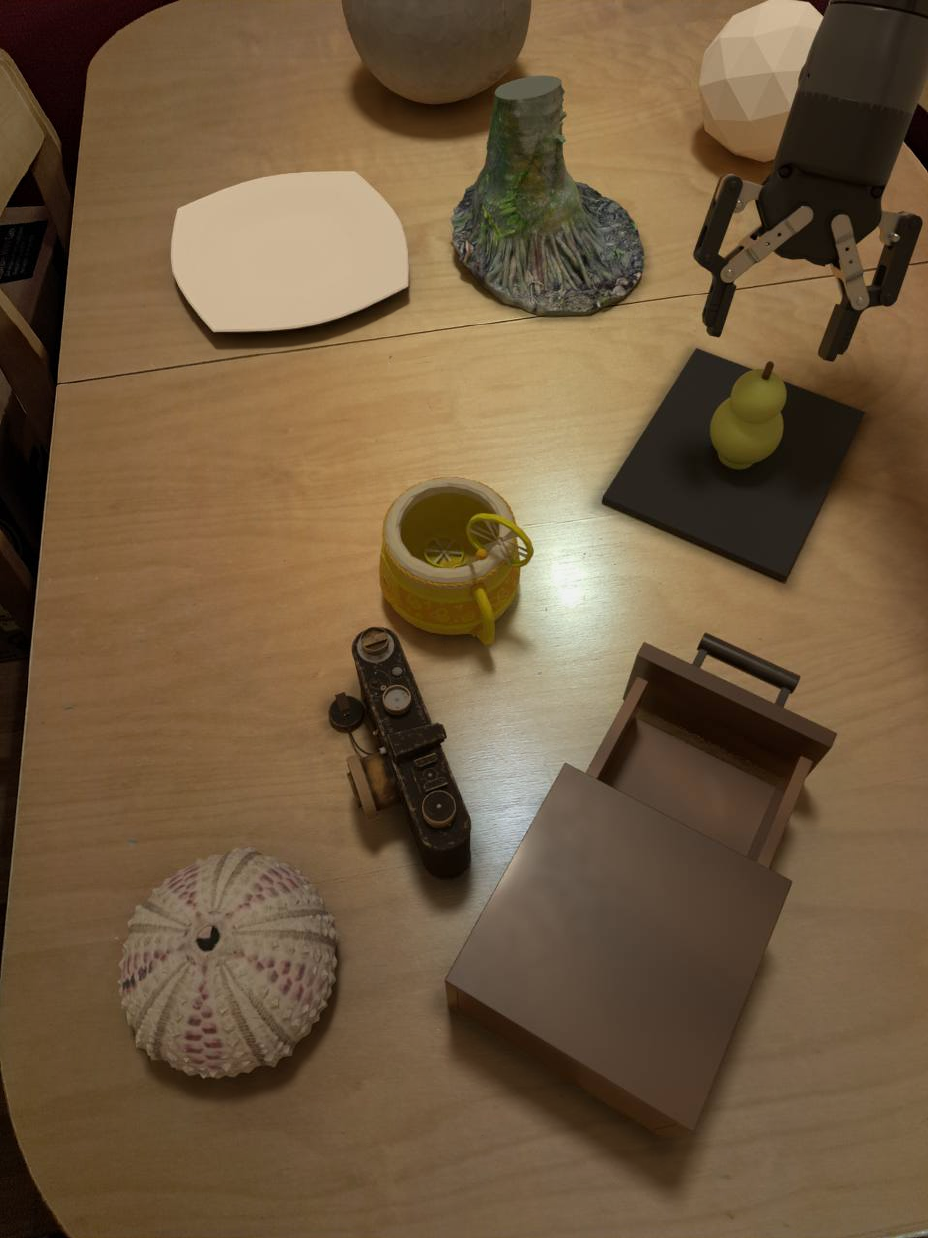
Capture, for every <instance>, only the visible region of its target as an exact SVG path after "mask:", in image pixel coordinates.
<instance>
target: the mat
mask: <svg viewBox="0 0 928 1238" xmlns="http://www.w3.org/2000/svg"><path fill="white" fill-rule="evenodd" d="M751 370H754V369H753V368H751V367H748V366H745V365H743V364H740V363H737V362H735V361H732V360H729V359H727V358H724V357H721V356H718V355H716V354H714V353H712V352H708V351H705V350H703V349H700V348H698V347H696V348H695V349H694V351H693V352H692V354H691V355H690V357H689V359H688V360H687V361H686V363H685V365H684V366H683V368H682V370H681V371H680V373H679V374H678V376H677V377H676V379H675V381H674V382H673V384H672V386H671V388H670V389H669V390H668V392H667V393H666V395H665V396H664V397H663V400H662V402H661V403H660V405H659V407H658V408H657V409H656V411H655V413H654V414H653V416H652V417H651V419H650V421H649V422H648V424H647V425H646V427H645V428H644V430H643V432H642V434H641V435H640V436H639V438H638V440H637V441H636V443H635V445H634V446H633V448H632V449H631V451H630V453H629V454H628V455H627V457H626V459H625V461H624V462H623V464H622V465H621V467H620V468H619V469H618V472H617V473H616V475H615V476H614V478H613V480H612V481H611V483H610V484H609V486H608V487H607V489H606V491H605V492H604V493H603V495H602V498H601V503H602V504H604V505H607V506H609V507H610V508H611V507H612V508H613V509H617V510H618V511H621V512H622V513H626V514H627V515H630V516H632V517H635V518H637V519H639V520H641V521H642V522H643V521H644V522H646V523H648V524H651V525H653V526H655V527H658V528H659V529H662V530H664V531H666V532H668V533H671V534H673V535H675V536H678V537H680V538H683V539H684V540H687V541H689V542H692V543H694V544H696V545H699V546H701V547H703V548H706V549H707V550H710V551H711V552H715V553H716V554H719V555H721V556H723V557H726V558H728V559H731V560H733V561H734V562H738V563H740V564H741V565H744V566H747V567H749V568H752V569H754V570H756V571H758V572H760V573H763V574H765V575H767V576H769V577H772V578H774V579H776V580H779V581H780V582H785V581H786V579H787V577H788V575H789V574H790V571H791V569H792V567H793V565H794V562H795V561H796V558H797V556H798V554H799V552H800V550H801V548H802V545H803V544H804V542H805V540H806V539H807V538H806V537H807V536H808V534H809V531H810V529H811V527H812V525H813V523H814V521H815V520H816V519H815V518H816V517H817V514H818V512H819V510H820V508H821V506H822V504H823V502H824V500H825V498H826V496H827V494H828V491H829V489H830V487H831V485H832V483H833V482H834V479H835V477H836V475H837V472H838V470H839V468H840V466H841V464H842V462H843V460H844V458H845V456H846V454H847V452H848V449H849V447H850V445H851V444H852V441H853V439H854V437H855V435H856V433H857V430H858V428H859V426H860V424H861V422H862V420H863V418H864V416H865V413H866V412H865V411H864V410H861V409H859V408H856V407H853V406H851V405H849V404H845V403H842V402H840V401H838V400H835V399H832V398H829V397H827V396H824V395H822V394H819V393H816V392H813V391H811V390H808V389H806V388H804V387H800V386H799V385H795V384H792V383H790V382H787V381H784V380H782V381H783V382H784V384H785V387H786V394H787V395H786V402H785V405H784V407H783V409H782V410H781V415H782V418H783V425H784V428H783V435H782V438H781V441H780V443H779V445H778V446H777V448H776V449H775V450H774V452H773V453H772V454H770V455H769V456H768V457H767V458H765V459H763V460H761V461H759V462H756V463H753V464H752V465H751V466H750V467H748V468H745V469H733V468H730V467H728V466H726V465H724V464H723V463H722V462H721V461H720V459H719V457H718V452H717V450H716V449H715V447H714V446H713V443H712V441H711V436H710V424H711V420H712V417H713V415H714V413H715V411H716V410H717V408H718V407H719V406H720V405H721V404H722V403H723V402H724V401H725V400H727V399H728V398H730V397H731V392H732V389H733V386H734V384H735V383H736V381H737V380H738V379H739V378H740V377H741V376H742V375H743V374H745V373H747V372H749V371H751Z"/></svg>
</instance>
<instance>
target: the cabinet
mask: <svg viewBox="0 0 928 1238" xmlns="http://www.w3.org/2000/svg"><path fill="white" fill-rule="evenodd" d="M792 885H793V880H792V879H790V878H788V877H786V876H785V875H782V874H780V873H778V872H776V871H774V870H772V869H771V868H770V867H769V868H767V867H765V866H763V865H761V864H759V863H757V862H755V861H753V860H751V859H749V858H748V857H746V856H744V855H742V854H740V853H738V852H736V851H734V850H732V849H730V848H728V847H726V846H725V845H723V844H721V843H719V842H717V841H715V840H713V839H711V838H709V837H707V836H705V835H703V834H701V833H700V832H698V831H696V830H694V829H692V828H690V827H688V826H686V825H684V824H682V823H680V822H678V821H677V820H675V819H673V818H671V817H669V816H667V815H665V814H663V813H661V812H659V811H657V810H655V809H654V808H652V807H650V806H648V805H646V804H644V803H642V802H640V801H638V800H636V799H634V798H632V797H630V796H629V795H627V794H625V793H623V792H621V791H619V790H617V789H615V788H613V787H611V786H609V785H607V784H606V783H604V782H602V781H600V780H598V779H596V778H594V777H592V776H590V775H588V774H586V772H584V771H583V770H581V769H578V768H577V767H575V766H573V765H571V764H569V763H567V762H564V764H562V766H561V769H560V771H559V772H558V775H557V776H556V778H555V780H554V782H553V784H552V785H551V787H550V789H549V791H548V792H547V794H546V796H545V798H544V799H543V802H542V803H541V805H540V806H539V809H538V811H537V812H536V814H535V816H534V818H533V820H532V821H531V823H530V825H529V827H528V829H526V833H525V834H524V836H523V837H522V839H521V841H520V843H519V845H518V847H517V849H516V850H515V852H514V854H513V856H512V857H511V859H510V861H509V863H508V865H507V867H506V868H505V870H504V872H503V874H502V875H501V877H500V879H499V881H498V883H497V884H496V886H495V888H494V890H493V892H492V894H491V895H490V897H489V899H488V900H487V903H486V905H485V906H484V908H483V910H482V911H481V914H480V915H479V917H478V919H477V920H476V923H475V925H474V926H473V928H472V930H471V932H470V933H469V935H468V937H467V938H466V941H465V943H463V946H462V948H461V949H460V951H459V953H458V955H457V957H456V958H455V961H454V962H453V964H452V966H451V967H450V969H449V971H448V973H447V975H446V977H445V979H444V985H445V994H446V1004H447V1006H448V1007H449V1008H451V1009H452V1010H454V1011H456V1012H457V1013H459V1014H460V1015H462V1016H464V1017H465V1018H467V1019H468V1020H471V1021H472V1022H474V1023H475V1024H477V1025H478V1026H480V1027H482V1028H483V1029H484V1030H487V1031H488V1032H490V1033H492V1034H493V1035H495V1036H496V1037H498V1038H499V1039H501V1040H502V1041H505V1042H506V1043H507V1044H509V1045H511V1046H512V1047H514V1048H516V1049H517V1050H519V1051H520V1052H522V1053H524V1054H526V1055H527V1056H529V1057H530V1058H532V1059H533V1060H535V1061H537V1062H539V1063H540V1064H542V1065H543V1066H545V1067H546V1068H548V1069H550V1070H551V1071H553V1072H554V1073H556V1074H558V1075H559V1076H561V1077H563V1078H564V1079H566V1080H567V1081H569V1082H570V1083H573V1084H574V1085H576V1087H577V1086H578V1087H579V1088H581V1090H584V1091H586V1092H587V1093H588V1094H590V1095H592V1096H593V1097H595V1098H597V1099H598V1100H600V1101H601V1102H603V1103H605V1104H606V1105H608V1106H610V1107H611V1108H612V1109H614V1110H616V1111H618V1112H619V1113H621V1114H623V1115H624V1116H625V1117H628V1118H629V1119H630V1120H632V1121H634V1122H635V1123H637V1124H639V1125H641V1126H642V1127H644V1128H645V1129H647V1130H648V1131H650V1132H651V1133H653V1134H655V1135H657V1136H659V1137H660V1138H662V1139H665V1138H672V1137H677V1136H682V1135H686V1134H692V1133H695V1131H696V1128H697V1125H698V1123H699V1120H700V1118H701V1116H702V1113H703V1110H704V1108H705V1105H706V1103H707V1100H708V1098H709V1095H710V1093H711V1090H712V1087H713V1086H714V1084H715V1079H716V1078H717V1075H718V1072H719V1070H720V1067H721V1066H722V1065H721V1064H722V1062H723V1060H724V1058H725V1054H726V1053H727V1049H728V1048H729V1044H730V1043H731V1040H732V1037H733V1035H734V1032H735V1029H736V1026H737V1024H738V1022H739V1019H740V1016H741V1014H742V1012H743V1010H744V1006H745V1004H746V1001H747V999H748V996H749V995H750V994H749V993H750V992H751V989H752V986H753V984H754V982H755V979H756V976H757V974H758V972H759V969H760V967H761V966H760V965H762V961H763V958H764V956H765V953H766V951H767V948H768V946H769V943H770V941H771V938H772V936H773V934H774V931H775V928H776V925H777V924H778V921H779V918H780V915H781V913H782V910H783V907H784V905H785V903H786V900H787V897H788V895H789V892H790V890H791V887H792Z"/></svg>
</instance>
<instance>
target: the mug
mask: <svg viewBox="0 0 928 1238" xmlns="http://www.w3.org/2000/svg"><path fill="white" fill-rule="evenodd" d="M381 531H382V532H381V537H382V545H381V551H380V555H379V570H378V572H379V573H378V574H379V576H378V577H379V585H380V590H381V592H382V593H381V594H382V595H383V597H384V600H386V602H387V603H389V605H390V606H391V607H392V609H393V610H394V611H395V612H396V613H397V614H399V616H400V617H401V618H403V619H404V620H405V621H406V622H408V623H410V624H411V625H412V626H414V627H416V628H418V629H420V630H422V631H425V632H428V633H430V634H431V633H432V634H438V635H446V636H458V635H470V636H472V637H475V638H476V637H477V638H478V639H479V641H480V642H481V643H482V644H483V645H485V646H487V645H492V644H493V643H494V641H495V635H496V627H495V621H497V620H498V619H499V618H501V616H502V615H503V614H504V613H505V612H506V610H507V609H508V608H509V607H510V606H511V604H512V602H513V600H514V598H515V597H516V595H517V592H518V588H519V585H520V578H521V568H522V567H525V566H527V565H528V564H529V563H530V562H531V560H532V557H533V556H534V551H535V550H534V547H533V542H532V541H531V539H530V538H529V536H528V535H527V534H526V532H525V531H524V530H523V528H521V527H519V525H517V522H516V518H515V516H514V512H513V511H512V508H511V506H510V505H509V503H508V502H507V500H505V498H504V497H503V496H501V495H500V493H498V492H497V491H495V490H494V489H493V488H491V487H490V486H488V485H486V484H484V483H483V482H480V481H477V480H473V479H468V478H465V477H457V476H440V477H436V478H432V479H428V480H425V481H424V480H423V481H422V482H419V483H417V484H413V485H412V486H410V487H408V488H406V490H405V491H403V492H402V493H401V494H400V495H398V497H397V498H396V499H394V501H393V502H392V503H391V504H390V506H389V507H388V509H387V511H386V513H385V515H384V519H383V522H382V529H381ZM518 538H519V539H520V540H521V541H522V543H523V544H524V546H525V547H523V546H520V545H519V543H518ZM520 550H521V551H523V552H525V553H523V552H521V551H520ZM520 556H521V557H522V558H524V559H521V558H520Z"/></svg>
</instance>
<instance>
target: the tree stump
mask: <svg viewBox="0 0 928 1238" xmlns="http://www.w3.org/2000/svg"><path fill="white" fill-rule="evenodd" d="M562 83H563V81H562V78H559V77H557V76H554V75H532V76H526V77H521V78H517V79H514V80H511V81H508V82H505V83H503V84H500V85H499V86H498V87H497V88H496V89H495V91H494V96H493V97H494V99H493V107H492V110H491V117H490V118H489V120H490V121H489V122H490V123H489V126H488V135H487V136H488V137H487V141H486V154H485V155H486V156H485V160H484V161H485V162H484V164H483V165H484V166H483V167H482V169H481V170H480V172H479V174H478V175H477V178H476V180H475V181H474V183H473V184H471V185H469V186H468V187H467V188H466V189H465V191H464V194H463V196H462V199H461V200H460V201H459V202H458V204H457V206H456V207H454V208H453V209H452V212H453V215H452V217H450V222H451V225H452V227H453V231H452V233H451V239H452V240H453V241H452V245H453V247H454V250H456V252H457V253H458V255H459V259H458V261H460V262H461V264H462V265H463V266H464V267H466V268H467V270H468V271H470V273H471V274H472V275H473V276H474V278H475V279H476V281H477V282H478V283H479V284H480V285H481V286H482V287H483V288H485V289H486V290H487V291H488V292H489V293H491V294H492V296H494V297H495V298H497V300H499V301H500V302H501V303H502V304H505V305H509V306H512V307H517V308H520V309H522V310H524V311H526V312H528V313H531V314H535V315H537V316H539V317H549V316H550V317H560V316H561V317H563V316H565V317H566V316H588V315H591V314H594V313H595V312H597V311H600V310H602V309H605V308H606V307H608V306H611V305H613V304H615V303H618V302H620V301H621V300H623V299H624V298H625V297H626V296H627V295H628V294H629V293H630V292H631V291H632V290H633V289H634V288H635V287H636V285H637V283H638V281H639V280H640V278H641V275H642V273H643V268H644V262H645V250H644V246H643V243H642V241H641V237H640V233H639V229H638V228H637V226H636V223H635V221H634V219H632V218H631V215H630V214H629V212H628V210H627V209H625V208H624V207H622V205H621V204H620V203H619V202H617V201H616V200H613V199H611V198H609V197H606V196H603V195H602V194H601V193H600V192H599V191H598V190H597V189H594V188H593V187H591V186H590V185H589V184H587V183H584V182H579V181H575V180H574V178H573V177H572V175H571V174H570V173H569V171H568V170H567V167H566V160H565V157H564V143H565V142H567V139H566V137H565V134H563V126H564V122H563V120H564V119H565V118H566V117H567V116H568V115H567V112H566V111H565V110H564V106H563V102H564V101H565V98H564V94H565V89H564V88H563V86H562Z"/></svg>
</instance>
